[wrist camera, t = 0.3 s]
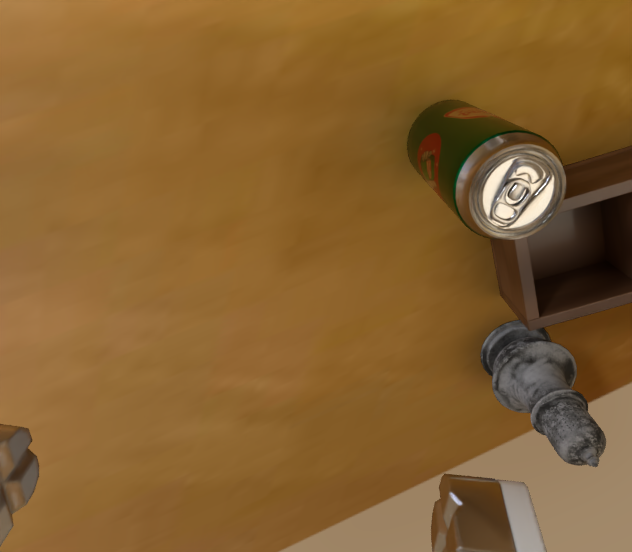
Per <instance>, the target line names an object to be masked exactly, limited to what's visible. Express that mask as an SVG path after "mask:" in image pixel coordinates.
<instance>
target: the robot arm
mask: <svg viewBox="0 0 632 552" xmlns="http://www.w3.org/2000/svg"><path fill="white" fill-rule="evenodd" d="M31 442H32V438H31V435H30V432H29V429H28V428H24V427H18V426H11V425H4V424H0V546H1V545H2V543H3V541H4V540H5V538H6V537H7V535H8V533H9V532H10V530H11V529H12V527H13V518H12V514H13V513H15V512H16V511H18V510H19V509H21V508H22V507H24V506H25V505H26V504H27V503H28V501H29V499H30V498H31V496H32V494H33V493H34V490H35V487H36V484H37V481H38V477H39V463H38V459H37V456H36V455H35V454H34V453H32V452H31V451H30V450H29V449H28V446H29V445H30V443H31ZM439 490H440V498H441V499H439V500H438V501H436V502H435V505H434V509H433V514H432V525H431V540H432V552H547V550H546V547H545V544H544V541H543V537H542V534H541V530H540V527H539V523H538V520H537V517H536V514H535V510H534V507H533V503H532V500H531V497H530V493H529V490H528V487H527V486H526V484H525V483H524V482H515V481H506V480H495V479H492V478H482V477H471V476H461V475H452V474H444V475H443V476H442V478H441V482H440V485H439Z"/></svg>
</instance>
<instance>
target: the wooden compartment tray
mask: <svg viewBox="0 0 632 552" xmlns="http://www.w3.org/2000/svg"><path fill="white" fill-rule="evenodd" d="M563 169H564V172H565V176H566V193H565V197H564V200H563V203H562V205H561V207H560V209H559V211H558V212H557V214H556V215H555V217H554V218H553V219H552V220H551V221H550V222H549V223H548V224H547V225H546V226H545V227H544V228H542V229H541V230H539V231H538V232H536V233H534V234H532V235H530V236H527V237H524V238H520V239H513V240H506V239H491V238H490V239H491V245H492V250H493V256H494V261H495V267H496V272H497V278H498V283H499V289H500V294H501V297H502V298H503V299H504V300H505V302H506V303H507V304H508V305H509V307H510V308H511V309H512V310H513V312H514V313H515V314H516V315H517V317H518V318H519V319H520V321H521V322H522V323H523V324H524V326H525V327H526V328H527V329H528V331H533V330H536V329H540V328H543V327H547V326H550V325H554V324H557V323H561V322H564V321H568V320H571V319H575V318H579V317H582V316H586V315H589V314H593V313H596V312H600V311H603V310H607V309H610V308H614V307H618V306H621V305H625V304H628V303H632V146H630V147H626V148H623V149H620V150H616V151H613V152H610V153H606V154H603V155H600V156H596V157H593V158H590V159H587V160H583V161H580V162H577V163H573V164H570V165H567V166H563Z"/></svg>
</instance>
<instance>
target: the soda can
mask: <svg viewBox="0 0 632 552" xmlns="http://www.w3.org/2000/svg"><path fill="white" fill-rule="evenodd" d="M407 150H408V156H409V159H410V161H411V163H412V165H413V167H414V168H415V169H416V171H417V172H418V173H419V174H420V175H421V176H422V177H423V179H424V180H425V181H426V182H427V183H428V184H429V185H430V186H431V188H432V189H433V190H434V191H435V192H436V193H437V194H438V195H439V196H440V198H441V199H442V200H443V201H444V202H445V203H446V204H447V205H448V207H449V208H450V209H451V210H452V211H453V212H454V213H455V214H456V216H457V217H458V218H459V219H460V220H461V221H462V222H463V223H464V224H465V226H467V227H468V228H469V229H470V230H471V231H473V232H475V233H476V234H478V235H480V236H483V237H486V238H491V239H506V240H513V239H520V238H524V237H527V236H530V235H532V234H534V233H536V232H538V231H539V230H541V229H542V228H544V227H545V226H546V225H547V224H548V223H549V222H550V221H551V220H552V219H553V218H554V217H555V215H556V214H557V212H558V211H559V209H560V207H561V205H562V203H563V200H564V197H565V193H566V176H565V172H564V169H563V165H562V160H561V158H560V156H559V154H558V152H557V151H556V149H555V148H554V146H553V145H552V144H551V143H550V142H549V141H548V140H546V139H545V138H543V137H542V136H540V135H538V134H536V133H533V132H531V131H529V130H527V129H524V128H522V127H520V126H518V125H515V124H513V123H511V122H509V121H506V120H504V119H502V118H500V117H497V116H495V115H493V114H491V113H488V112H486V111H484V110H482V109H479V108H477V107H475V106H473V105H470V104H468V103H466V102H463V101H459V100H446V101H441V102H438V103H436V104H433V105H431V106H430V107H428V108H427V109H425V110H424V111H423V112H422V113H421V114H420V115H419V116H418V117H417V119H416V120H415V122H414V123H413V125H412V127H411V129H410V132H409V136H408V142H407Z"/></svg>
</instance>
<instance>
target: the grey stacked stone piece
mask: <svg viewBox="0 0 632 552" xmlns="http://www.w3.org/2000/svg"><path fill="white" fill-rule="evenodd" d="M481 362H482V365H483V367H484V369H485V370H486V371H487V373H488V374H489V375H491V376H492V377H493V379H492V386H493V391H494V394H495V396H496V398H497V400H498V401H499V402H500V403H501V404H502V405H503V406H505V407H506V408H508V409H510V410H513V411H516V412H522V413H531V423H532V425H533V427H534V428H535V430H536V431H538V432H539V433H541V434H543V435H546V436H547V438H548V439H549V441H550V443H551V444H552V446H553V447H554V449H555V451H556V452H557V454H558V455H559V456H560V457H561V458H562V459H563V460H564V461H565V462H567V463H569V464H573V465H587V464H588V465H589V466H593V467H597V466H598V462H599V457H600V456H601V455H602V453H603V452H604V449H605V446H606V438H605V435H604V433H603V431H602V430H601V428H600V427H599V426H598V425H597V423H596V422H595V421H594V419H593V418H592V417H591V416H590V415H589V413H588V404H587V401H586V399H585V398H584V397H583V395H582V394H580V393H579V392H577V391H574V390H572V389H571V388H572V386H573V385H574V382H575V379H576V375H577V366H576V363H575V360H574V357H573V356H572V355H571V353H570V352H569V351H568V350H567V349H566V348H564V347H563V346H561V345H559V344H556V343H553V342H551V341H550V338H549V335H548V333H547V332H546V331H545V330H544V328H540V329H536V330H533V331H528V329H527V328H526V327H525V326H524V324H523V323H522V322H521V321H520V320H517V321H512V322H508V323H506V324H504V325H501V326H500V327H498V328H497V329H495V330H494V331H493V332H492V333H491V334H490V335H489V336H488V337H487V338H486V340H485V342H484V344H483V346H482V350H481Z"/></svg>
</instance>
